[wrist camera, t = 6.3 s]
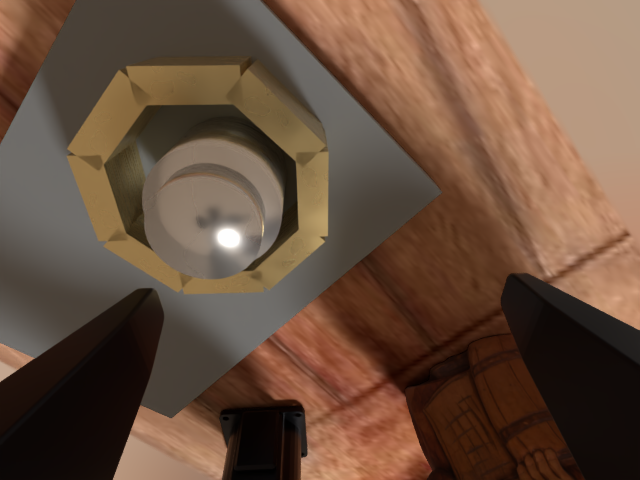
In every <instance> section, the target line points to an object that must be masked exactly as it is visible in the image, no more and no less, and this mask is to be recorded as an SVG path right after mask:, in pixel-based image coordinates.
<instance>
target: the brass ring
mask: <svg viewBox="0 0 640 480" xmlns="http://www.w3.org/2000/svg"><path fill="white" fill-rule="evenodd" d="M218 104H233V105H235V106H236V107H237V108H238V109H239V110H240V111H241V112H242V113H243V114H244V115H245V116H247V117H248V118H249V119H250V120H251V121H252V122H253V123H254V124H255V125H256V126H258V127H259V128H260V129H261V130H262V131H263V132H264V133H265V134H266V135H267V136H268V137H270V138H271V139H272V140H273V141H274V142H275V143H276V144H277V145H278V146H279V147H281V148H282V149H283V150H284V151H285V152H286V153H287V154H288V155H289V156H290V157H291V158H293V159H294V160H295V161H296V172H297V198H298V200H297V201H296V202H295V203H294V204H293V205H292V206H291V207H290V208H289V209H288V210H287V211H286V212H285V213H284V214H283V215H282V221H281V227H280V230H279V233H278V236H277V238H276V240H275V241H274V243H273V244H272V246H271V247H270V248H269V249H268V250H267V251H266V252H265V253H264V254H263V255H262V256H260V257H259V258H257V259H256V260H254V261H253V262H252V263H251V264H250V265H249V266H248V267H247V268H246V269H244V270H243V271H241V272H240V273H237V274H235V275H233V276H230V277H227V278H222V279H200V278H195V277H191V276H188V275H185V274H183V273H180V272H178V271H176V270H175V269H173V268H171V267H170V266H168V265H167V264H166V263H165V262H163V261H162V260H161V259H160V258H159V257H158V256H157V255H156V253H155V252H154V251H153V249H152V248H151V246H150V244H149V242H148V240H147V237H146V234H145V230H144V216H145V215H144V211H143V206H142V191H143V187H144V183H145V180H146V177H145V173H144V170H143V166H142V162H141V158H140V155H139V151H138V147H137V143H136V139H137V138H138V137H139V135H140V134H141V133H142V131H143V130H144V129H145V127H146V126H147V125H148V123H149V122H150V121H151V119H152V118H153V117H154V115H155V114H156V113H157V111H158V110H159V108H160V107H161V106H162V105H218ZM67 149H68V150H69V151H71V152H72V153H70V154H69V155H67V159H68V161H69V164H70V167H71V169H72V172H73V175H74V177H75V180H76V183H77V185H78V188H79V191H80V193H81V196H82V199H83V201H84V204H85V207H86V209H87V212H88V215H89V217H90V220H91V223H92V225H93V228H94V231H95V233H96V236H97V239H98V241H107V242H106V243H105V245H104V246H103V247H105V248H106V249H108V250H110V251H111V252H113V253H115V254H116V255H118V256H119V257H121V258H123V259H124V260H126V261H128V262H129V263H131V264H132V265H134V266H136V267H137V268H139V269H141V270H142V271H144V272H145V273H147V274H149V275H150V276H152V277H153V278H155V279H157V280H158V281H160V282H162V283H163V284H165V285H166V286H168V287H170V288H171V289H173V290H175V291H176V292H179V291H180V290H181V289H182V288H183V292H184V294H213V293H252V292H264V287H265V288H267V289H268V290H270V289H271V288H272V287H273V286H275V285H276V284H277V283H278V282H279V281H280V280H282V279H283V278H284V277H285V276H286V275H287V274H288V273H290V272H291V271H292V270H293V269H294V268H295V267H297V266H298V265H299V264H300V263H301V262H302V261H303V260H305V259H306V258H307V257H308V256H309V255H310V254H311V253H313V252H314V251H315V250H316V249H317V248H318V247H320V246H321V245H322V244H323V243H324V242H325V236H328V164H329V151H328V146H327V140H326V134H325V130H323V125H322V123H321V122H320V121H319V120H318V119H317V118H316V117H315V116H314V115H313V114H312V113H311V112H310V111H309V110H308V109H307V108H306V107H305V106H304V105H303V104H302V103H301V102H300V101H299V100H298V99H297V98H296V97H295V96H294V95H293V94H292V93H291V92H290V91H289V90H288V89H287V88H286V87H285V86H284V85H283V84H282V83H281V82H280V81H279V80H278V79H277V78H276V77H275V76H274V75H273V74H272V73H271V72H270V71H269V70H268V69H267V68H266V67H265V66H264V65H263V64H262V63H261V62H260V61H259V60H258V59H257V60H256V61H255V62H254V63H253V64H252V62H251V56H195V57H155V58H152V59H149V60H145V61H142V62H138V63H135V64H132V65H128V66H126V68H123V69H120V70H118V72H117V73H116V75H115V77H114V78H113V80H112V81H111V83H110V84H109V86H108V87H107V89H106V90H105V92H104V93H103V95H102V96H101V98H100V99H99V101H98V102H97V104H96V105H95V107H94V108H93V110H92V111H91V113H90V115H89V116H88V118H87V119H86V121H85V122H84V124H83V125H82V127H81V128H80V130H79V131H78V133H77V134H76V136H75V137H74V139H73V140H72V142H71V143H70V145H69V146H68V148H67Z"/></svg>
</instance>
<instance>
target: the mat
mask: <svg viewBox="0 0 640 480" xmlns="http://www.w3.org/2000/svg"><path fill="white" fill-rule="evenodd" d="M195 56H251V62H252V64H253V63H254V62H255V61H256V60H257V59H258V60H259V61H260V62H261V63H262V64H263V65H264V66H265V67H266V68H267V69H268V70H269V71H270V72H271V73H272V74H273V75H274V76H275V77H276V78H277V79H278V80H279V81H280V82H281V83H282V84H283V85H284V86H285V87H286V88H287V89H288V90H289V91H290V92H291V93H292V94H293V95H294V96H295V97H296V98H297V99H298V100H299V101H300V102H301V103H302V104H303V105H304V106H305V107H306V108H307V109H308V110H309V111H310V112H311V113H312V114H313V115H314V116H315V117H316V118H317V119H318V120H319V121H320V122H321V123H322V125H323V130H325V134H326V140H327V146H328V151H329V164H328V236H325V242H324V243H323V244H322V245H321V246H320V247H318V248H317V249H316V250H315V251H314V252H313V253H311V254H310V255H309V256H308V257H307V258H306V259H305V260H303V261H302V262H301V263H300V264H299V265H298V266H297V267H295V268H294V269H293V270H292V271H291V272H290V273H288V274H287V275H286V276H285V277H284V278H283V279H282V280H280V281H279V282H278V283H277V284H276V285H275V286H273V287H272V288H271V289H270V290H268V289H267V288H265V287H264V292H252V293H213V294H184V292H183V288H182V289H181V290H180V291H179V292H176V291H175V290H173V289H171V288H170V287H168V286H166V285H165V284H163V283H162V282H160V281H158V280H157V279H155V278H153V277H152V276H150V275H149V274H147V273H145V272H144V271H142V270H141V269H139V268H137V267H136V266H134V265H132V264H131V263H129V262H128V261H126V260H124V259H123V258H121V257H119V256H118V255H116V254H115V253H113V252H111V251H110V250H108V249H106V248H105V247H103V246H104V245H105V243H106V242H107V241H98V239H97V236H96V233H95V231H94V228H93V225H92V223H91V220H90V217H89V215H88V212H87V209H86V207H85V204H84V201H83V199H82V196H81V193H80V191H79V188H78V185H77V183H76V180H75V177H74V175H73V172H72V169H71V167H70V164H69V161H68V159H67V155H69V154H70V153H72V152H71V151H69V150H68V149H67V148H68V146H69V145H70V143H71V142H72V140H73V139H74V137H75V136H76V134H77V133H78V131H79V130H80V128H81V127H82V125H83V124H84V122H85V121H86V119H87V118H88V116H89V115H90V113H91V111H92V110H93V108H94V107H95V105H96V104H97V102H98V101H99V99H100V98H101V96H102V95H103V93H104V92H105V90H106V89H107V87H108V86H109V84H110V83H111V81H112V80H113V78H114V77H115V75H116V73H117V72H118V70H120V69H123V68H126V66H128V65H132V64H135V63H138V62H142V61H145V60H149V59H152V58H155V57H195ZM215 117H234V118H239V119H243V120H246V121H248V122H251V123H253V122H252V121H251V120H250V119H249V118H248V117H247V116H245V115H244V114H243V113H242V112H241V111H240V110H239V109H238V108H237V107H236V106H235V105H233V104H218V105H162V106H161V107H160V108H159V110H158V111H157V113H156V114H155V115H154V117H153V118H152V119H151V121H150V122H149V123H148V125H147V126H146V127H145V129H144V130H143V131H142V133H141V134H140V135H139V137H138V138H137V139H136V143H137V147H138V151H139V155H140V158H141V162H142V166H143V170H144V173H145V177H146V178H147V176H148V174H149V173H150V171H151V169H152V168H153V167H154V166H155V165H156V164H157V162H158V161H159V160H160V159H161V158H162V157H163V156H164V155H165V154H166V153H167V152H168V151H169V150H170V149H171V148H172V147H173V146H174V145H175V144H176V143H177V142H178V141H179V140H180V139H181V138H182V137H183V136H184V135H185V134H186V133H187V132H188V131H189V130H190V129H191V128H193V127H194V126H195V125H197V124H199V123H200V122H202V121H205V120H207V119H211V118H215ZM253 124H254V123H253ZM277 146H278V145H277ZM278 147H279V146H278ZM279 149H280V151H281V153H282V155H283V158H284V161H285V165H286V185H285V194H284V203H283V212H282V215H283V214H284V213H285V212H286V211H287V210H288V209H289V208H290V207H291V206H292V205H293V204H294V203H295V202H296V201H297V200H298V198H297V172H296V161H295V160H294V159H293V158H291V157H290V156H289V155H288V154H287V153H286V152H285V151H284V150H283V149H282V148H281V147H279ZM441 193H442V191H441V190H440V189H439V187H438V186H437V185H436V183H435V182H434V181H433V180H432V179H431V178H430V177H429V176H428V174H427V173H426V172H425V171H424V170H423V169H422V168H421V167H420V166H419V165H418V164H417V163H416V162H415V161H414V160H413V159H412V158H411V157H410V155H409V154H408V153H407V152H406V151H405V150H404V149H403V148H402V147H401V146H400V145H399V144H398V143H397V142H396V141H395V140H394V139H393V138H392V136H391V135H390V134H389V133H388V132H387V131H386V130H385V129H384V128H383V127H382V126H381V125H380V124H379V123H378V122H377V121H376V120H375V119H374V118H373V116H372V115H371V114H370V113H369V112H368V111H367V110H366V109H365V108H364V107H363V106H362V105H361V104H360V103H359V102H358V101H357V100H356V99H355V97H354V96H353V95H352V94H351V93H350V92H349V91H348V90H347V89H346V88H345V87H344V86H343V85H342V84H341V83H340V82H339V81H338V80H337V78H336V77H335V76H334V75H333V74H332V73H331V72H330V71H329V70H328V69H327V68H326V67H325V66H324V65H323V64H322V63H321V62H320V61H319V60H318V58H317V57H316V56H315V55H314V54H313V53H312V52H311V51H310V50H309V49H308V48H307V47H306V46H305V45H304V44H303V43H302V42H301V41H300V39H299V38H298V37H297V36H296V35H295V34H294V33H293V32H292V31H291V30H290V29H289V28H288V27H287V26H286V25H285V24H284V23H283V22H282V20H281V19H280V18H279V17H278V16H277V15H276V14H275V13H274V12H273V11H272V10H271V9H270V8H269V7H268V6H267V5H266V4H265V3H264V2H263V0H76V2H75V3H74V5H73V7H72V9H71V11H70V13H69V15H68V17H67V19H66V21H65V22H64V24H63V26H62V28H61V30H60V32H59V34H58V36H57V38H56V40H55V41H54V43H53V45H52V47H51V49H50V51H49V53H48V55H47V57H46V59H45V60H44V62H43V64H42V66H41V68H40V70H39V72H38V74H37V76H36V78H35V79H34V81H33V83H32V85H31V87H30V89H29V91H28V93H27V95H26V97H25V98H24V100H23V102H22V104H21V106H20V108H19V110H18V112H17V114H16V116H15V117H14V119H13V121H12V123H11V125H10V127H9V129H8V131H7V133H6V135H5V136H4V138H3V140H2V142H1V144H0V343H2V344H4V345H6V346H8V347H11V348H13V349H15V350H18V351H20V352H22V353H24V354H27V355H29V356H31V357H33V358H36V357H38V356H39V355H41V354H42V353H44V352H45V351H47V350H48V349H49V348H51V347H52V346H54V345H55V344H57V343H58V342H60V341H61V340H63V339H64V338H66V337H67V336H69V335H70V334H72V333H73V332H74V331H76V330H77V329H79V328H80V327H82V326H83V325H85V324H86V323H88V322H89V321H91V320H92V319H94V318H95V317H96V316H98V315H99V314H101V313H102V312H104V311H105V310H107V309H108V308H110V307H111V306H113V305H114V304H116V303H117V302H118V301H120V300H121V299H123V298H124V297H126V296H127V295H129V294H130V293H132V292H133V291H135V290H136V289H139V288H154V289H156V290H157V292H158V295H159V298H160V301H161V304H162V307H163V310H164V324H163V328H162V332H161V336H160V340H159V344H158V348H157V353H156V357H155V361H154V365H153V369H152V373H151V376H150V379H149V382H148V385H147V388H146V390H145V393H144V396H143V399H142V401H141V404H140V405H142V406H144V407H146V408H149V409H151V410H153V411H155V412H158V413H160V414H162V415H165V416H167V417H169V418H172V417H174V416H175V415H176V414H177V413H178V412H180V411H181V410H182V409H183V408H184V407H186V406H187V405H188V404H189V403H190V402H192V401H193V400H194V399H195V398H196V397H198V396H199V395H200V394H201V393H202V392H204V391H205V390H206V389H207V388H208V387H210V386H211V385H212V384H213V383H214V382H216V381H217V380H218V379H219V378H220V377H222V376H223V375H224V374H225V373H226V372H228V371H229V370H230V369H231V368H232V367H234V366H235V365H236V364H237V363H238V362H240V361H241V360H242V359H243V358H244V357H246V356H247V355H248V354H249V353H250V352H252V351H253V350H254V349H255V348H256V347H258V346H259V345H260V344H261V343H262V342H264V341H265V340H266V339H267V338H268V337H270V336H271V335H272V334H273V333H274V332H276V331H277V330H278V329H279V328H280V327H282V326H283V325H284V324H285V323H286V322H288V321H289V320H290V319H291V318H292V317H294V316H295V315H296V314H297V313H298V312H300V311H301V310H302V309H303V308H304V307H306V306H307V305H308V304H309V303H310V302H312V301H313V300H314V299H315V298H316V297H318V296H319V295H320V294H321V293H322V292H324V291H325V290H326V289H327V288H328V287H330V286H331V285H332V284H333V283H334V282H336V281H337V280H338V279H339V278H340V277H342V276H343V275H344V274H345V273H346V272H348V271H349V270H350V269H351V268H352V267H354V266H355V265H356V264H357V263H358V262H360V261H361V260H362V259H363V258H364V257H366V256H367V255H368V254H369V253H370V252H372V251H373V250H374V249H375V248H376V247H378V246H379V245H380V244H381V243H382V242H384V241H385V240H386V239H387V238H388V237H390V236H391V235H392V234H393V233H394V232H396V231H397V230H398V229H399V228H400V227H402V226H403V225H404V224H405V223H406V222H408V221H409V220H410V219H411V218H412V217H414V216H415V215H416V214H417V213H418V212H420V211H421V210H422V209H423V208H424V207H426V206H427V205H428V204H429V203H430V202H432V201H433V200H434V199H435V198H436V197H438V196H439V195H440V194H441Z"/></svg>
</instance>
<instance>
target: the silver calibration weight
mask: <svg viewBox="0 0 640 480" xmlns="http://www.w3.org/2000/svg"><path fill="white" fill-rule="evenodd" d="M285 185H286V165H285V161H284V158H283V155H282V153H281V151H280V149H279V147H278V146H277V144H276V143H275V142H274V141H273V140H272V139H271V138H270V137H268V136H267V135H266V134H265V133H264V132H263V131H262V130H261V129H260V128H259V127H258V126H256V125H255V124H253V123H251V122H248V121H246V120H243V119H239V118H234V117H215V118H211V119H207V120H205V121H202V122H200V123H199V124H197V125H195V126H194V127H193V128H191V129H190V130H189V131H188V132H187V133H186V134H185V135H184V136H183V137H182V138H181V139H180V140H179V141H178V142H177V143H176V144H175V145H174V146H173V147H172V148H171V149H170V150H169V151H168V152H167V153H166V154H165V155H164V156H163V157H162V158H161V159H160V160H159V161H158V162H157V164H156V165H155V166H154V167H153V168H152V169H151V171H150V173H149V174H148V176H147V178H146V180H145V183H144V187H143V191H142V206H143V211H144V215H145V216H144V230H145V234H146V237H147V240H148V242H149V244H150V246H151V248H152V249H153V251H154V252H155V253H156V255H157V256H158V257H159V258H160V259H161V260H162V261H163V262H165V263H166V264H167V265H168V266H170V267H171V268H173V269H175V270H176V271H178V272H180V273H183V274H185V275H188V276H191V277H195V278H200V279H222V278H227V277H230V276H233V275H235V274H237V273H240V272H241V271H243V270H244V269H246V268H247V267H248V266H249V265H250V264H251V263H252V262H253V261H254V260H256V259H257V258H259V257H260V256H262V255H263V254H264V253H265V252H266V251H267V250H268V249H269V248H270V247H271V246H272V244H273V243H274V241H275V240H276V238H277V236H278V233H279V230H280V227H281V221H282V212H283V203H284V194H285Z"/></svg>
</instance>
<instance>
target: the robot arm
mask: <svg viewBox="0 0 640 480" xmlns="http://www.w3.org/2000/svg"><path fill="white" fill-rule="evenodd" d="M501 306H502V309H503V312H504V315H505V317H506V320H507V322H508V325H509V327H510V330H511V333H512V335H513V338H514V340H515V343H516V345H517V348H518V350H519V353H520V355H521V357H522V360H523V362H524V364H525V366H526V368H527V370H528V372H529V374H530V376H531V377H532V379H533V381H534V383H535V385H536V387H537V389H538V391H539V393H540V395H541V397H542V399H543V400H544V402H545V404H546V406H547V408H548V410H549V412H550V414H551V416H552V418H553V420H554V422H555V423H556V425H557V427H558V429H559V431H560V433H561V435H562V437H563V439H564V441H565V443H566V445H567V446H568V448H569V450H570V452H571V454H572V456H573V458H574V460H575V462H576V464H577V466H578V468H579V469H580V471H581V473H582V475H583V477H584V479H585V480H640V330H638V329H636V328H634V327H632V326H630V325H628V324H626V323H624V322H622V321H620V320H618V319H616V318H614V317H612V316H610V315H608V314H606V313H604V312H602V311H601V310H599V309H597V308H595V307H593V306H591V305H589V304H587V303H585V302H583V301H581V300H579V299H577V298H575V297H573V296H571V295H569V294H567V293H565V292H563V291H561V290H559V289H557V288H555V287H553V286H552V285H550V284H548V283H546V282H544V281H542V280H540V279H538V278H536V277H534V276H532V275H530V274H528V273H512V274H510V275H509V276H508V277H507V280H506V283H505V286H504V290H503V293H502V296H501ZM163 324H164V310H163V307H162V304H161V301H160V298H159V295H158V292H157V290H156V289H154V288H139V289H136V290H135V291H133V292H132V293H130V294H129V295H127V296H126V297H124V298H123V299H121V300H120V301H118V302H117V303H116V304H114V305H113V306H111V307H110V308H108V309H107V310H105V311H104V312H102V313H101V314H99V315H98V316H96V317H95V318H94V319H92V320H91V321H89V322H88V323H86V324H85V325H83V326H82V327H80V328H79V329H77V330H76V331H74V332H73V333H72V334H70V335H69V336H67V337H66V338H64V339H63V340H61V341H60V342H58V343H57V344H55V345H54V346H52V347H51V348H49V349H48V350H47V351H45V352H44V353H42V354H41V355H39V356H38V357H36V358H35V359H33V360H32V361H30V362H29V363H27V364H26V365H24V366H23V367H22V368H20V369H19V370H17V371H16V372H14V373H13V374H11V375H10V376H8V377H7V378H5V379H4V380H3V381H1V382H0V480H113V477H114V475H115V472H116V469H117V466H118V464H119V461H120V458H121V456H122V453H123V450H124V447H125V445H126V442H127V439H128V437H129V434H130V431H131V428H132V426H133V423H134V420H135V418H136V415H137V412H138V409H139V407H140V404H141V401H142V399H143V396H144V393H145V390H146V388H147V385H148V382H149V379H150V376H151V373H152V369H153V365H154V361H155V357H156V353H157V348H158V344H159V340H160V336H161V332H162V328H163ZM219 419H220V423H221V426H222V430H223V433H224V437H225V441H226V444H227V454H226V460H225V465H224V471H223V476H222V480H301V458H302V457H306V456H307V436H306V423H305V410H304V408H303V407H298V406H297V407H276V408H254V409H233V410H223V411H221V413H220V418H219Z"/></svg>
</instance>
